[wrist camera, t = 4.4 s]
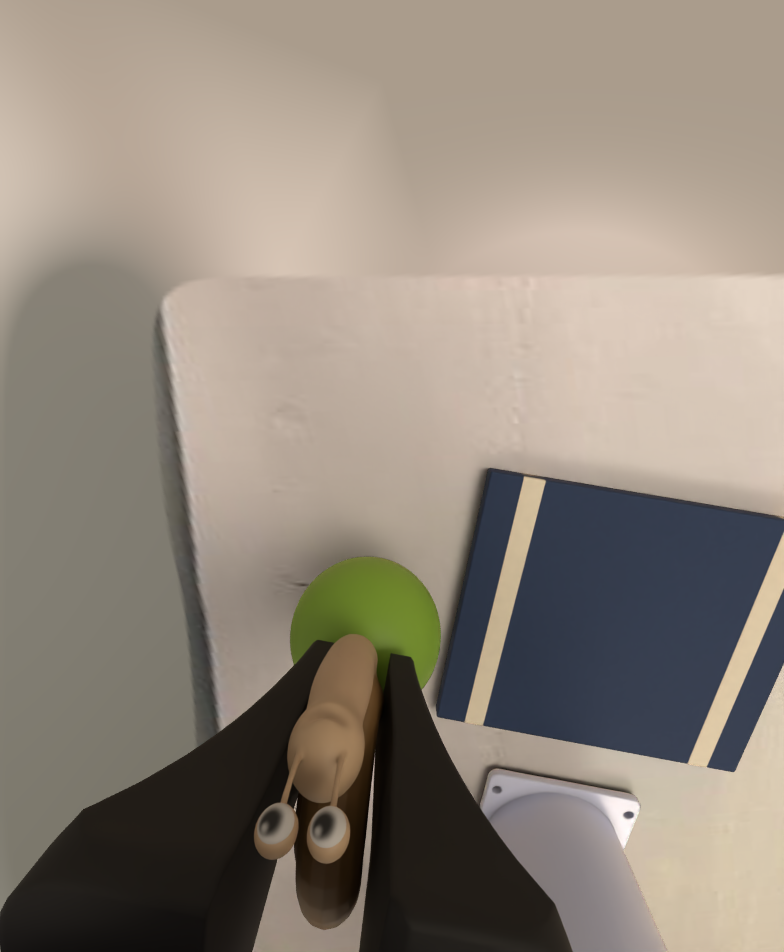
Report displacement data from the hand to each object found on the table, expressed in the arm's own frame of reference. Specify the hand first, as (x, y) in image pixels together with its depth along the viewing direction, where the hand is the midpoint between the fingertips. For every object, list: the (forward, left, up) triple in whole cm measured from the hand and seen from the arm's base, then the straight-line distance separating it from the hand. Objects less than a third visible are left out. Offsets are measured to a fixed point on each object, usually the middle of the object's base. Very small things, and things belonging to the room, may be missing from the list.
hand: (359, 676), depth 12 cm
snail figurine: (0, 0, -6) cm, 6 cm away
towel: (-1, -11, -8) cm, 14 cm away
